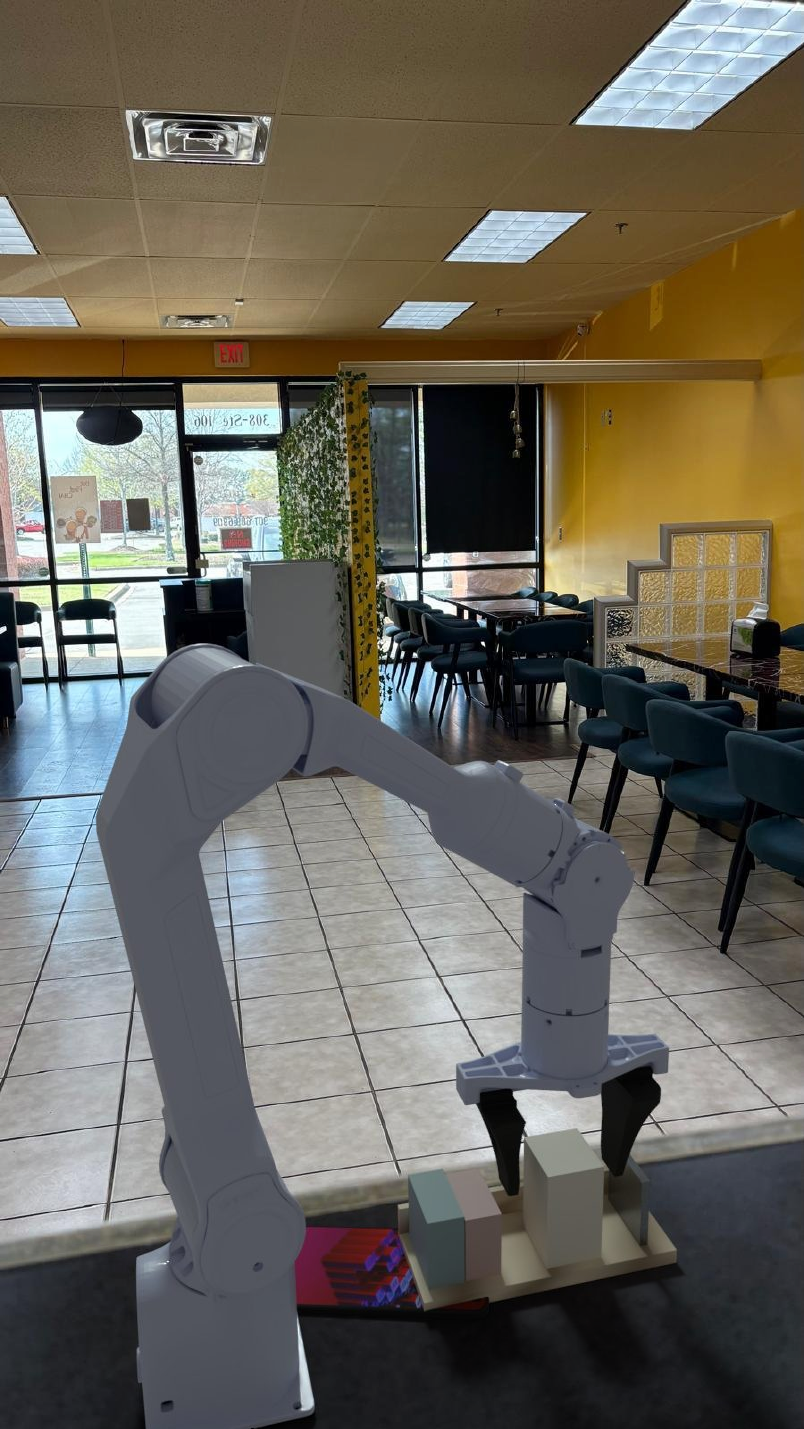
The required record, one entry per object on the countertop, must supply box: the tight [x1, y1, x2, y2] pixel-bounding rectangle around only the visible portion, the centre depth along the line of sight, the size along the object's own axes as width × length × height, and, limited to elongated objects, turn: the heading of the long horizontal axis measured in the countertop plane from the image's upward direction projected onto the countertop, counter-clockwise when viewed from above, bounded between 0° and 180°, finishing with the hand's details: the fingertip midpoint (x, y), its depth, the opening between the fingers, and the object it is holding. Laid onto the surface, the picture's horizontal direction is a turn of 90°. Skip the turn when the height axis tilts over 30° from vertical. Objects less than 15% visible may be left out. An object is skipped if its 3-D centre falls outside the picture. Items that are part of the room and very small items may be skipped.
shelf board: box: [397, 1165, 678, 1312], centre depth 71 cm, size 18×7×3 cm, turn 104°
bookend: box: [608, 1154, 651, 1246], centre depth 72 cm, size 1×5×5 cm, turn 14°
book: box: [522, 1127, 605, 1269], centre depth 70 cm, size 4×4×7 cm
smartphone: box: [295, 1224, 490, 1321], centre depth 70 cm, size 8×1×15 cm
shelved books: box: [407, 1168, 502, 1290], centre depth 69 cm, size 5×5×5 cm
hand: (561, 1176), depth 70 cm, fingers open, 7 cm apart
